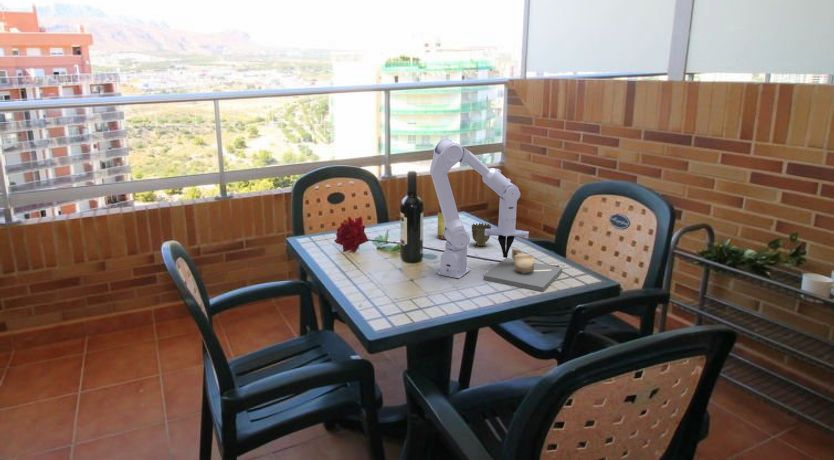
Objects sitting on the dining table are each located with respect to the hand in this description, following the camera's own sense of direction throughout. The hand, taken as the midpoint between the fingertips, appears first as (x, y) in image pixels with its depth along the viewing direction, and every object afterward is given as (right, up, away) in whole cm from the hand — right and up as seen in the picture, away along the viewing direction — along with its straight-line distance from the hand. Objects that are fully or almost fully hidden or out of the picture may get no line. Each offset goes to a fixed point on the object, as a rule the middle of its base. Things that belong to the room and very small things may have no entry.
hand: (505, 256), depth 209 cm
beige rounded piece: (+5, -3, -4) cm, 7 cm away
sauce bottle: (-19, +6, +33) cm, 38 cm away
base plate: (+5, -6, -6) cm, 10 cm away
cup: (-6, +3, +24) cm, 25 cm away
